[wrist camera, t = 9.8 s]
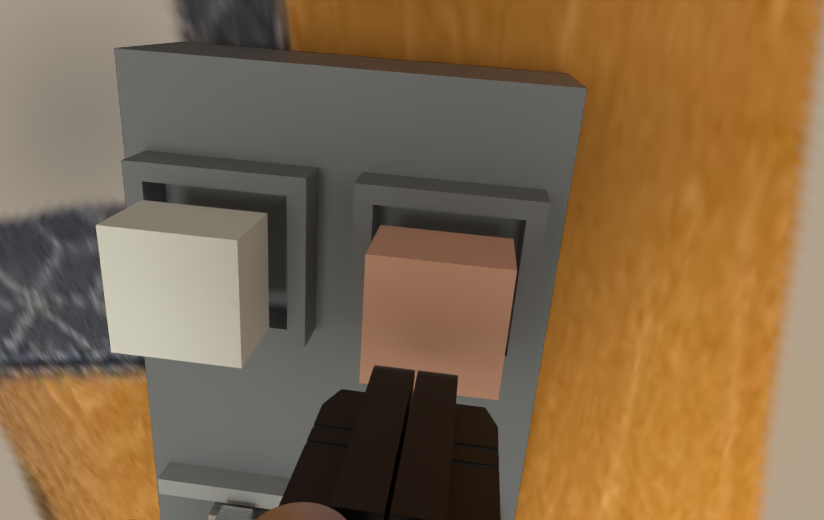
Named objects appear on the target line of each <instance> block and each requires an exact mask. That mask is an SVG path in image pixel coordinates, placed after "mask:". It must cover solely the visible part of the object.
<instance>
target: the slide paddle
mask: <svg viewBox="0 0 824 520" xmlns="http://www.w3.org/2000/svg"><path fill="white" fill-rule="evenodd" d="M269 510H271V509H264V508H257V507H250V506H243V505H236V504H229V503H222V502H215V504H214V505H213V507H212V509H211V511H210V513H209V514H208V520H256V519H257V518H259V517H260V516H261V515H263V514H264V513H265V512H267V511H269Z"/></svg>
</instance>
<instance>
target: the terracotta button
mask: <svg viewBox="0 0 824 520" xmlns="http://www.w3.org/2000/svg"><path fill="white" fill-rule="evenodd" d="M516 274H517V266H516V257H515V248H514V239H510V238H501V237H491V236H482V235H472V234H462V233H453V232H443V231H434V230H424V229H414V228H405V227H395V226H386V225H380V227H379V229H378V231H377V233H376V234H375V236H374V238H373V240H372V242H371V244H370V246H369V248H368V250H367V252H366V254H365V273H364V294H363V316H362V337H361V358H360V380H359V383H362V384H368V382H369V379H370V376H371V373H372V370H373V367H374V365H379V366H387V367H395V368H403V369H411V370H415V379H414V388H415V383H416V377H417V373H418V370H421V371H429V372H436V373H444V374H452V375H458V385H457V395H458V396H466V397H474V398H482V399H491V400H498V399H499V392H500V385H501V378H502V371H503V364H504V357H505V350H506V344H507V337H508V330H509V323H510V316H511V309H512V302H513V295H514V288H515V281H516Z"/></svg>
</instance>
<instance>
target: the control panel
mask: <svg viewBox="0 0 824 520" xmlns="http://www.w3.org/2000/svg"><path fill="white" fill-rule="evenodd" d="M114 53H115V63H116V73H117V83H118V93H119V104H120V114H121V123H122V134H123V144H124V153H125V159H123V160H121V163H122V173H123V182H124V192H125V202H126V209H127V208H128V207H130V206H132V205H134V204H136V203H138V202H140V201H141V200H146V201H156V202H165V203H175V204H184V205H194V206H204V207H213V208H223V209H232V210H242V211H252V212H261V213H267V220H268V288H269V330H268V331H267V333H266V334H265V336H264V337H263V338H262V340H261V341H260V343H259V344H258V346H257V347H256V349H255V350H254V351H253V353H252V354H251V356H250V357H249V359H248V360H247V361H246V363H245V364H244V366H243V367H242V368H234V367H226V366H218V365H210V364H202V363H194V362H185V361H177V360H169V359H161V358H153V357H145V366H146V376H147V387H148V397H149V407H150V417H151V427H152V437H153V447H154V457H155V467H156V477H157V488H158V498H159V508H160V518H161V520H208V514H209V513H210V511H211V509H212V507H213V505H214V504H215V502H222V503H229V504H236V505H243V506H250V507H257V508H264V509H273V508H276V507H278V506H279V504H280V501H281V499H282V497H283V495H284V492H285V490H286V488H287V485H288V483H289V481H290V478H291V476H292V474H293V471H294V469H295V467H296V464H297V462H298V460H299V457H300V455H301V453H302V450H303V448H304V446H305V444H306V443H307V439H308V436H309V434H310V432H311V429H312V428H313V427H314V422H315V420H316V418H317V415H318V413H319V411H320V408H321V406H322V404H323V403H324V402H326V401H327V400H328V399H329V398H331V397H332V396H333V395H334V394H336V393H337V392H338V391H339V390H341V389H345V390H353V391H360V392H365V391H366V388H367V385H368V384H362V383H359V380H360V358H361V337H362V316H363V294H364V273H365V254H366V252H367V250H368V248H369V246H370V244H371V242H372V240H373V238H374V236H375V234H376V233H377V231H378V229H379V227H380V225H386V226H395V227H405V228H414V229H424V230H434V231H443V232H453V233H462V234H472V235H482V236H491V237H501V238H510V239H514V248H515V257H516V266H517V274H516V281H515V288H514V295H513V302H512V309H511V316H510V323H509V330H508V337H507V344H506V350H505V357H504V364H503V371H502V378H501V385H500V392H499V399H498V400H491V399H482V398H474V397H466V396H458V395H457V398H456V404H463V405H470V406H478V407H485V408H486V409H487V411H488V412H489V414H490V415H491V417H492V419H493V420H494V422H495V423H496V425H497V426H498V445H499V449H498V452H499V479H500V513H501V520H514V518H515V512H516V506H517V500H518V494H519V488H520V482H521V476H522V471H523V465H524V459H525V453H526V447H527V441H528V435H529V429H530V423H531V417H532V412H533V406H534V400H535V394H536V388H537V382H538V376H539V370H540V364H541V358H542V353H543V347H544V341H545V335H546V329H547V323H548V317H549V311H550V305H551V299H552V293H553V288H554V282H555V276H556V270H557V264H558V258H559V252H560V246H561V240H562V234H563V229H564V223H565V217H566V211H567V205H568V199H569V193H570V187H571V181H572V175H573V169H574V164H575V158H576V152H577V146H578V140H579V134H580V128H581V122H582V116H583V110H584V105H585V99H586V93H587V88H586V87H585V86H583V85H582V84H581V83H580V82H578V81H577V80H576V79H574V78H573V77H572V76H570V75H569V74H565V73H553V72H541V71H529V70H517V69H505V68H493V67H481V66H469V65H457V64H445V63H433V62H421V61H409V60H397V59H385V58H373V57H361V56H349V55H337V54H325V53H313V52H301V51H289V50H278V49H266V48H254V47H242V46H230V45H218V44H206V43H194V42H175V43H164V44H153V45H143V46H132V47H121V48H114ZM413 393H414V391H413Z"/></svg>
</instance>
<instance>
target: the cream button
mask: <svg viewBox="0 0 824 520" xmlns="http://www.w3.org/2000/svg"><path fill="white" fill-rule="evenodd" d="M96 230H97V239H98V247H99V255H100V263H101V272H102V280H103V288H104V296H105V305H106V313H107V321H108V329H109V338H110V346H111V352H113V353H121V354H129V355H137V356H145V357H153V358H161V359H169V360H177V361H185V362H194V363H202V364H210V365H218V366H226V367H234V368H242V367H243V366H244V364H245V363H246V361H247V360H248V359H249V357H250V356H251V354H252V353H253V351H254V350H255V349H256V347H257V346H258V344H259V343H260V341H261V340H262V338H263V337H264V336H265V334H266V333H267V331H268V330H269V288H268V220H267V213H261V212H252V211H242V210H232V209H223V208H213V207H204V206H194V205H184V204H175V203H165V202H156V201H146V200H141V201H140V202H138V203H136V204H134V205H132V206H130V207H128V208H127V209H125V210H123V211H121V212H119V213H117V214H115V215H114V216H112V217H110V218H108V219H106V220H104V221H102V222H101V223H99V224H97V225H96Z"/></svg>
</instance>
